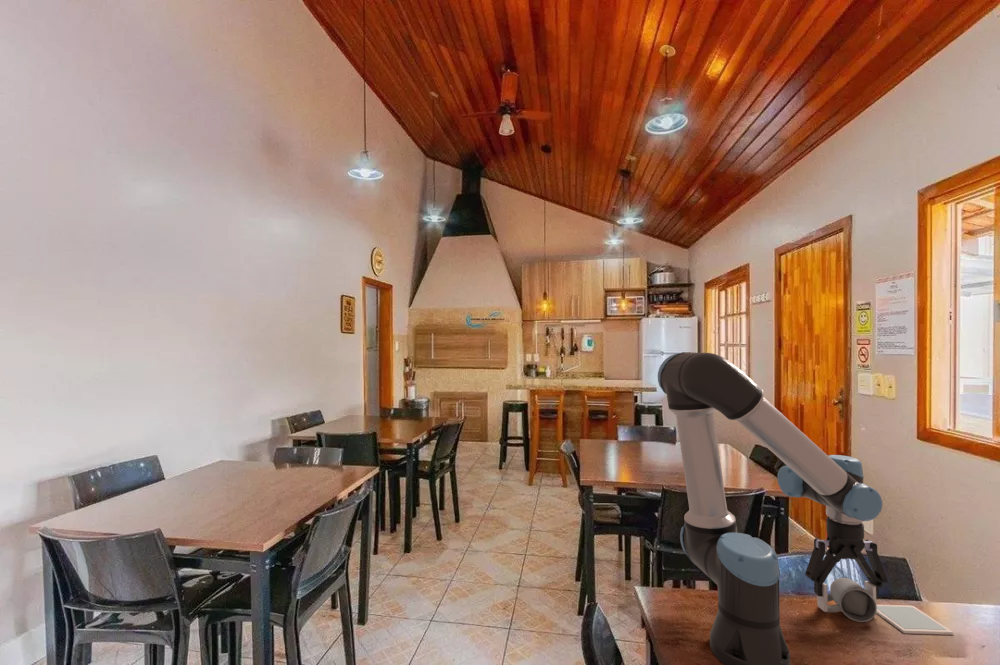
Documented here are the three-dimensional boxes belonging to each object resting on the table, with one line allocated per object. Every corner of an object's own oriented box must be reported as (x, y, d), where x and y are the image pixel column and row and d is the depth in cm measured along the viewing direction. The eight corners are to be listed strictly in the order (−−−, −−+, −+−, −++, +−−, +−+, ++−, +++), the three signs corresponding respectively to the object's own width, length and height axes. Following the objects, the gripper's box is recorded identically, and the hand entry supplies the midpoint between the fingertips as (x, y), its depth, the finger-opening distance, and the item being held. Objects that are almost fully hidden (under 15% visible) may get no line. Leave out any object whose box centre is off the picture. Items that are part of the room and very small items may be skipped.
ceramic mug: (861, 606, 117) (860, 575, 117) (878, 624, 109) (876, 591, 110) (813, 601, 120) (812, 570, 120) (826, 618, 112) (825, 586, 112)
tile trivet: (903, 633, 106) (903, 630, 106) (867, 606, 117) (867, 604, 117) (953, 634, 106) (953, 631, 106) (912, 607, 117) (912, 605, 117)
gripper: (805, 524, 112) (807, 616, 111) (905, 526, 111) (908, 620, 110) (787, 513, 119) (789, 599, 118) (881, 515, 118) (883, 602, 117)
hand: (846, 609), depth 114 cm, fingers closed on ceramic mug, 11 cm apart
